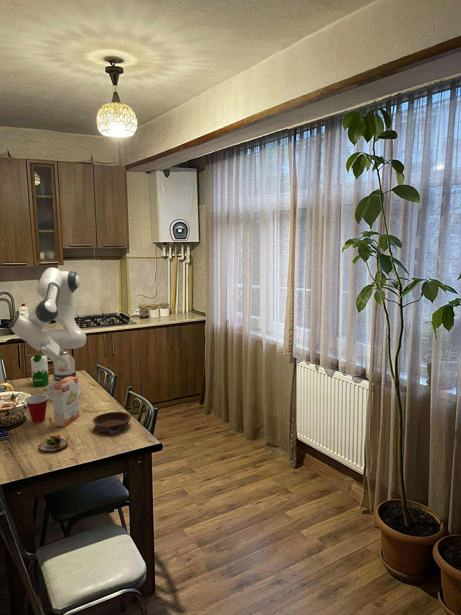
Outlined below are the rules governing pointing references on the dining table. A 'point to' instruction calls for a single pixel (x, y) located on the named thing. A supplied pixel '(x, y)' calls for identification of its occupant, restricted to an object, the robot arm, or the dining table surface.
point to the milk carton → (39, 370)
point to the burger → (54, 443)
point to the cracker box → (65, 401)
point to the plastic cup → (37, 407)
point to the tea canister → (65, 366)
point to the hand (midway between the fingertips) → (65, 360)
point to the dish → (112, 422)
